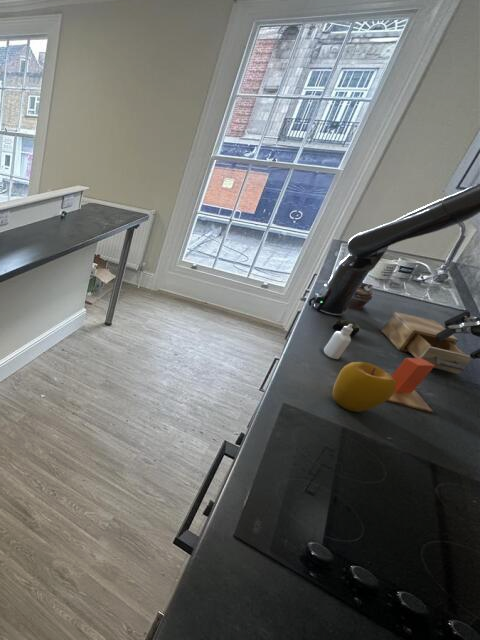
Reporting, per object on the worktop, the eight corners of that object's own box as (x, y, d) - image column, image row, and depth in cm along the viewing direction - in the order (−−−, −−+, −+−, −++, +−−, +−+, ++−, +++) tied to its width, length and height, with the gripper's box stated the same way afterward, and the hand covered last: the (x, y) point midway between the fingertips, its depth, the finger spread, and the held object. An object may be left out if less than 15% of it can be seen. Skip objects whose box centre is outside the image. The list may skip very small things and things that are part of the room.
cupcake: (336, 297, 177) (349, 276, 172) (364, 305, 172) (378, 284, 167) (335, 303, 171) (349, 282, 165) (364, 312, 165) (379, 290, 160)
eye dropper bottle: (339, 354, 134) (360, 324, 128) (337, 361, 130) (359, 330, 124) (323, 348, 136) (343, 318, 130) (321, 354, 133) (341, 324, 127)
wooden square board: (378, 398, 115) (379, 396, 114) (360, 371, 126) (361, 370, 125) (431, 412, 111) (433, 411, 110) (407, 384, 122) (409, 382, 122)
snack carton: (384, 384, 120) (405, 358, 114) (399, 384, 120) (421, 358, 115) (395, 392, 117) (418, 365, 111) (411, 392, 117) (435, 365, 112)
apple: (383, 417, 107) (415, 380, 101) (352, 421, 105) (383, 383, 98) (343, 390, 116) (369, 354, 110) (314, 393, 114) (339, 356, 107)
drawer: (466, 380, 125) (481, 364, 121) (423, 370, 128) (436, 354, 125) (436, 352, 139) (448, 337, 136) (398, 343, 142) (409, 328, 139)
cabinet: (441, 360, 137) (458, 340, 132) (398, 349, 140) (414, 330, 136) (420, 339, 148) (435, 320, 144) (381, 330, 152) (394, 311, 148)
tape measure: (329, 330, 149) (334, 321, 147) (335, 325, 152) (341, 317, 150) (351, 339, 144) (357, 330, 142) (357, 334, 148) (363, 325, 146)
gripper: (487, 292, 112) (425, 325, 116) (556, 318, 100) (483, 354, 104) (488, 309, 115) (428, 341, 120) (555, 336, 103) (485, 371, 107)
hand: (454, 347), depth 112 cm, fingers open, 8 cm apart
